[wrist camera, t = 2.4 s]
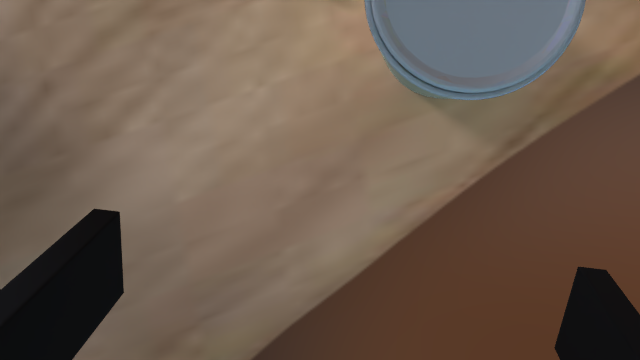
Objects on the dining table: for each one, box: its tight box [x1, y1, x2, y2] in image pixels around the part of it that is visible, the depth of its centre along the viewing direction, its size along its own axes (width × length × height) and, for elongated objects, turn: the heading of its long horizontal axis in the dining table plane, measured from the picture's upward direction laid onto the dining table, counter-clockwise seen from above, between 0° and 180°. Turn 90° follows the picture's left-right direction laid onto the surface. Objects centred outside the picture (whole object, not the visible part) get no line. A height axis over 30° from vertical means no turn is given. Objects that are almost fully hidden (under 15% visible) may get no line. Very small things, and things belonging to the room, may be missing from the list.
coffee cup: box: [365, 0, 586, 100], centre depth 29 cm, size 9×9×12 cm
